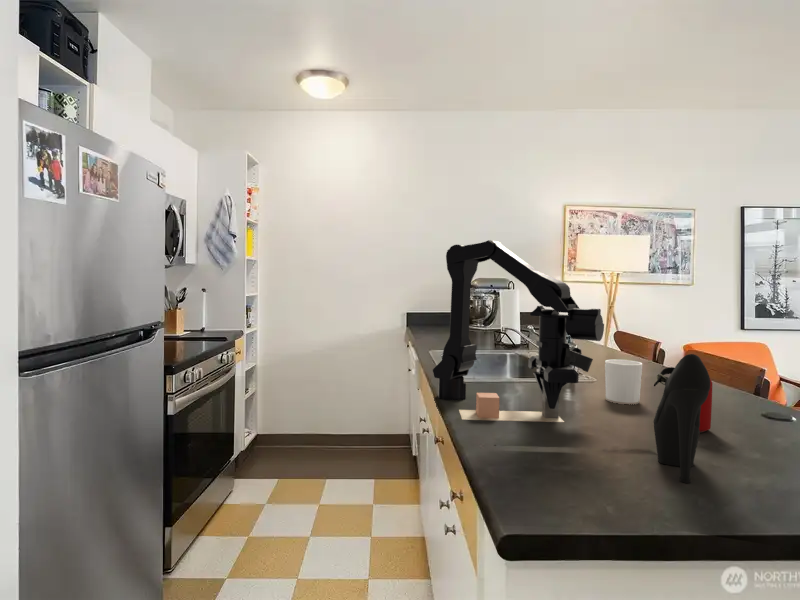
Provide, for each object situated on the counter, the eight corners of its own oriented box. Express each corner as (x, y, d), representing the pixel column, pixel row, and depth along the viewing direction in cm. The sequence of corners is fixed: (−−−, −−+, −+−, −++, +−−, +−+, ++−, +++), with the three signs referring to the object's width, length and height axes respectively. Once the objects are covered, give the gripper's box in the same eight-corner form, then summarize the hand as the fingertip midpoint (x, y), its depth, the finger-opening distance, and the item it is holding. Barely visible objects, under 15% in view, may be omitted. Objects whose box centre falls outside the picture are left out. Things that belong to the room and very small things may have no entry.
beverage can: (708, 427, 106) (710, 372, 105) (713, 435, 100) (715, 377, 99) (672, 422, 109) (674, 369, 108) (675, 430, 103) (677, 374, 102)
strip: (462, 423, 106) (462, 387, 105) (458, 413, 114) (459, 379, 113) (564, 425, 105) (565, 389, 105) (554, 415, 113) (555, 382, 113)
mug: (649, 404, 125) (650, 364, 125) (620, 406, 123) (621, 365, 122) (618, 394, 136) (619, 357, 136) (591, 396, 133) (592, 358, 133)
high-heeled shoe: (688, 450, 90) (693, 343, 90) (718, 492, 72) (724, 358, 72) (641, 445, 93) (645, 341, 92) (658, 484, 75) (663, 354, 74)
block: (478, 417, 107) (478, 397, 107) (476, 412, 112) (476, 392, 112) (499, 418, 107) (499, 397, 107) (495, 412, 112) (496, 393, 112)
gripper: (605, 343, 99) (602, 419, 99) (575, 333, 118) (573, 397, 118) (549, 342, 99) (547, 418, 100) (528, 332, 118) (527, 396, 118)
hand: (550, 406), depth 109 cm, fingers closed on strip, 2 cm apart
